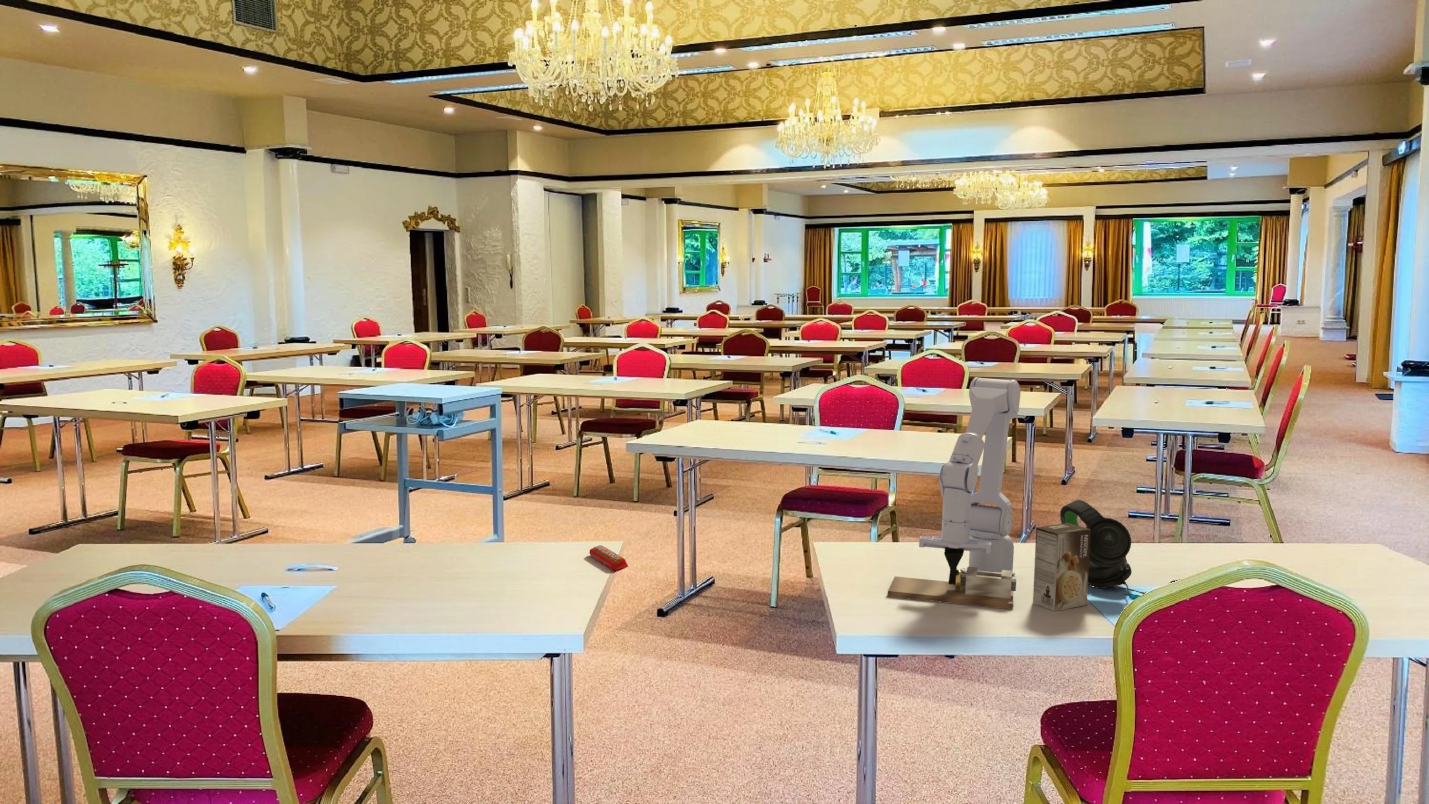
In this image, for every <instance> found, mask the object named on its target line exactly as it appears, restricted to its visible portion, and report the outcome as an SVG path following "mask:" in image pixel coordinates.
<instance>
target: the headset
mask: <svg viewBox="0 0 1429 804" xmlns="http://www.w3.org/2000/svg"><path fill="white" fill-rule="evenodd" d="M1059 514H1060V515H1059V516H1060V518H1059V519H1060V524H1065V523H1069V524H1073V525H1077V526H1080V525H1079V521H1078V517H1079V520H1081V521H1082V522H1083V523H1084V524H1085V528H1088V529H1091V532H1090V553H1089V573H1088V586H1090V585H1091V586H1090V587H1092V586H1094V587H1093V588H1095V587H1098V588H1097V589H1105V588H1106V589H1107V588H1112V587H1115V586H1121V585H1124V586H1125V587H1126V590H1128V591H1130V592H1136V593H1140V594H1142V595H1144V593H1146V592H1147V591H1145V592H1144V591H1139V590H1135V589H1132V588H1129V586H1128V584H1127V582H1126V580H1128V579H1129V578H1130V577H1131V575H1132V572H1133V571H1132V568H1131V564H1130V563H1128V560H1127V555H1128V554H1129V553H1130V549H1131V546H1132V537H1131V535H1130V533H1129V530H1128V528H1126V526H1125V525H1124V524H1123V523H1121V522H1120V521H1118V520H1116V519H1114V518H1111V517H1104V516H1103V515H1102V513H1100V512H1099V511H1098V509H1096V508H1095V507H1092V506H1091V505H1090V504H1089V503H1088V502H1086V501H1084V500H1081V499H1075V500H1073V501H1072V502H1070V503H1067V504H1066V505H1063V506H1062V507H1061V509H1060V513H1059ZM1178 580H1180V579H1178ZM1178 580H1177V579H1176V580H1173V579H1172V580H1171V581H1170V582H1169V583H1172V582H1175V581H1178Z"/></svg>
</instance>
